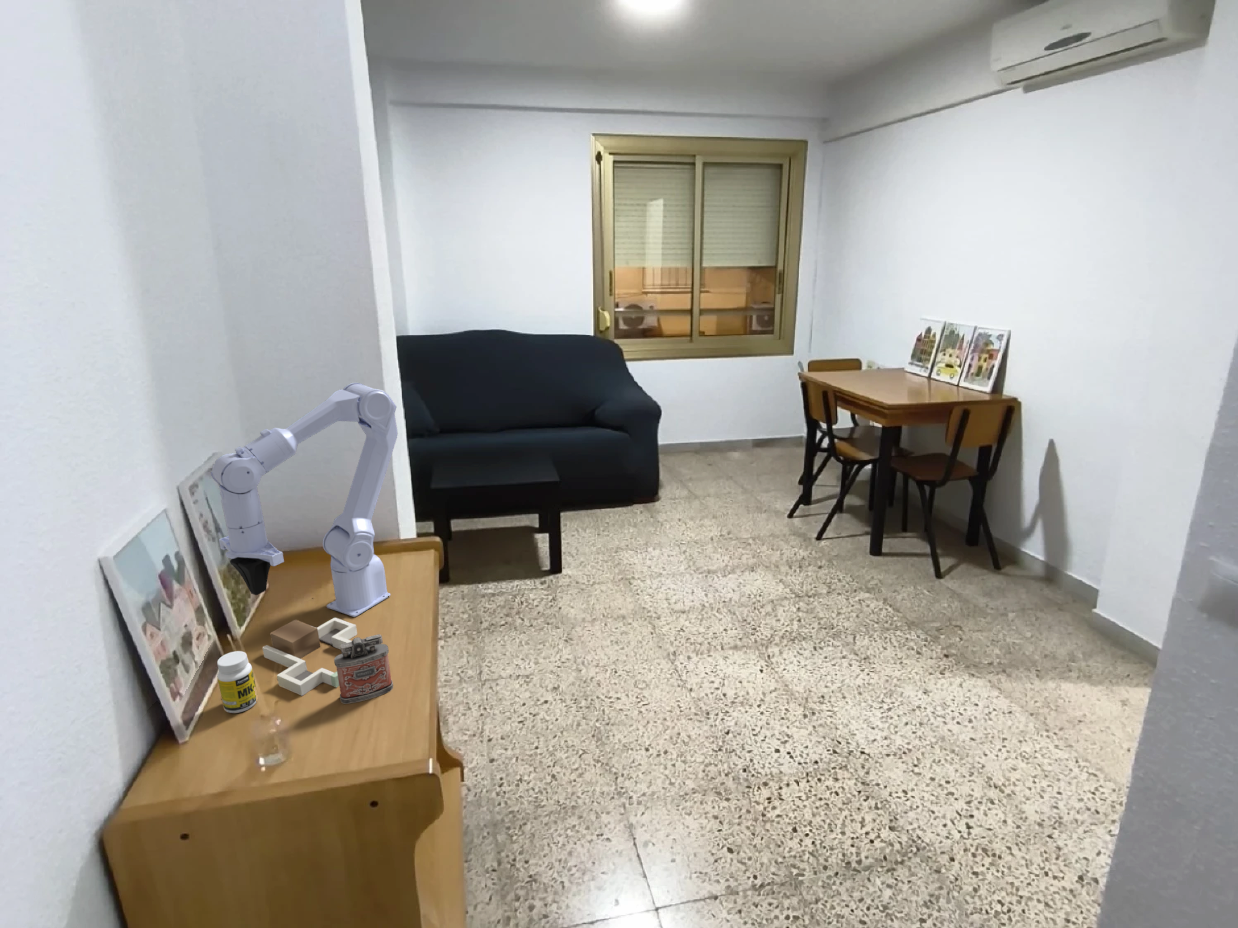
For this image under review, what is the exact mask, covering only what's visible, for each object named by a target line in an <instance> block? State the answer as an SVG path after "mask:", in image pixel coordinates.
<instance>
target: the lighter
mask: <svg viewBox="0 0 1238 928" xmlns="http://www.w3.org/2000/svg"><path fill="white" fill-rule="evenodd" d="M351 641H352V642H349V643H345V644H342V645H341V649H340V652H341V653H340V654H337V655H336V656H335V657H334V658H333V662H334V666H335V668H336V671H337V674H338V680H339V686H338V687H339V692H340V693H339V699H340V702H341V703H342V704H344V705H345V704H348V705H349V704H354V703H359V702H362V701H367V700H371V699H374V698H377V697H380V696H383V695H385V694H387V693H389V692H391V691H392V690H393V689H394V683H393V680H392V675H391V669H390V659H389V647H388V644H385V643H384V642H383V636H382V635H381V634H380V633H379V634H375V635H370V636H366V637H364V638H360V637H353V639H352V640H351Z"/></svg>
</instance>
